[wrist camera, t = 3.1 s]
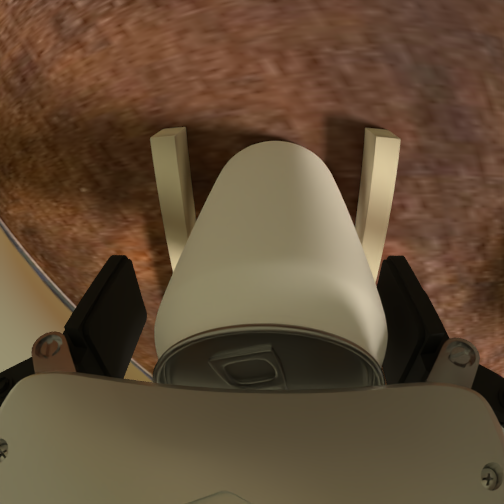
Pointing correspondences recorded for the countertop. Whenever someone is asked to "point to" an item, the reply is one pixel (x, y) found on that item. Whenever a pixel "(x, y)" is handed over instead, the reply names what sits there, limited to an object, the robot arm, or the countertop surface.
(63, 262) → the countertop surface
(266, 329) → the can
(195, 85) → the countertop surface
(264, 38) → the countertop surface
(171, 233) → the beige u-shaped frame
